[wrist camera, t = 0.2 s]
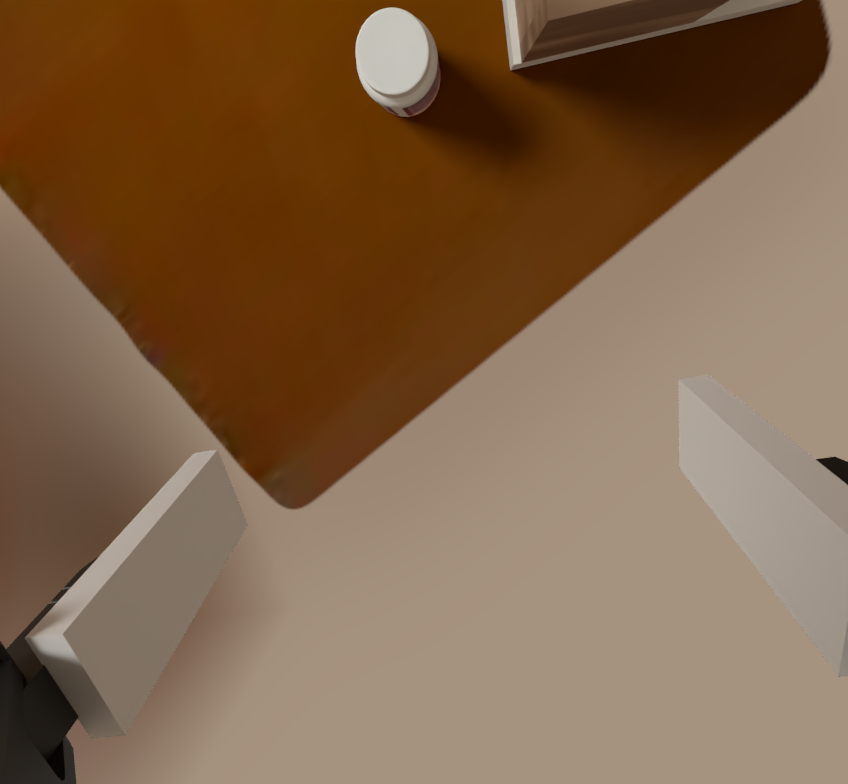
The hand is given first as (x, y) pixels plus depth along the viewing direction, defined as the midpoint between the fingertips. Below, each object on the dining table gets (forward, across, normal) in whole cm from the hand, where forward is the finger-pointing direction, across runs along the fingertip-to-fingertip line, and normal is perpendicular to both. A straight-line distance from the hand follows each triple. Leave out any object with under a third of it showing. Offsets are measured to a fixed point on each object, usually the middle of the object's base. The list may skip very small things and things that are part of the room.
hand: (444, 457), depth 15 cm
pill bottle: (+28, -1, +14) cm, 31 cm away
